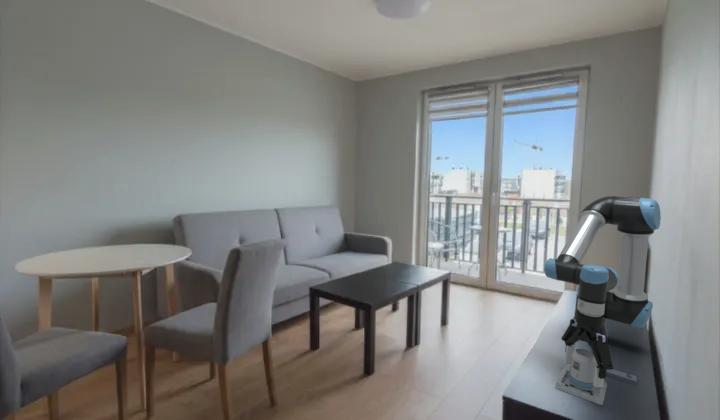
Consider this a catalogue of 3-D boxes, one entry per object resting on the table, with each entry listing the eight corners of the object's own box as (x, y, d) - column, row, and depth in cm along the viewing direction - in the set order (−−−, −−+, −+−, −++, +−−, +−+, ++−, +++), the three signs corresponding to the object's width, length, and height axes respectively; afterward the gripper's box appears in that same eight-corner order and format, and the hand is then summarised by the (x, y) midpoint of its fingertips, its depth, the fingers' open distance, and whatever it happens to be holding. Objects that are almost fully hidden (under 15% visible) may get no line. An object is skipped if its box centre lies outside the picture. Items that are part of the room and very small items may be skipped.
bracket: (600, 370, 131) (601, 365, 131) (636, 381, 125) (636, 376, 125) (599, 375, 128) (600, 369, 128) (636, 386, 122) (636, 381, 121)
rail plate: (562, 372, 127) (563, 367, 127) (606, 387, 119) (607, 382, 119) (555, 388, 117) (555, 382, 117) (602, 405, 109) (603, 399, 109)
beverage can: (597, 394, 114) (601, 359, 113) (574, 391, 115) (578, 356, 114) (587, 382, 121) (591, 349, 120) (565, 379, 122) (569, 346, 121)
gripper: (554, 299, 128) (548, 355, 130) (609, 329, 103) (600, 397, 105) (574, 299, 128) (568, 355, 130) (633, 329, 104) (624, 397, 106)
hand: (582, 374), depth 118 cm, fingers open, 13 cm apart
